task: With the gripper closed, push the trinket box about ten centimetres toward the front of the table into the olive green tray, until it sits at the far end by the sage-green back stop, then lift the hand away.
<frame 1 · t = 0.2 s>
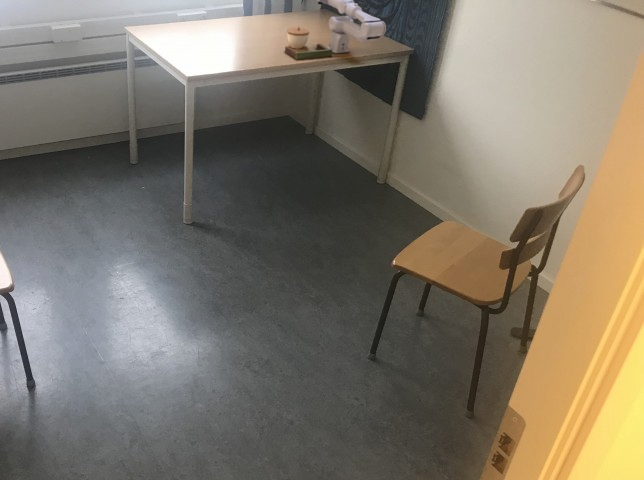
trinket box: (296, 47, 349), on the table
olive green tray: (305, 52, 341), on the table
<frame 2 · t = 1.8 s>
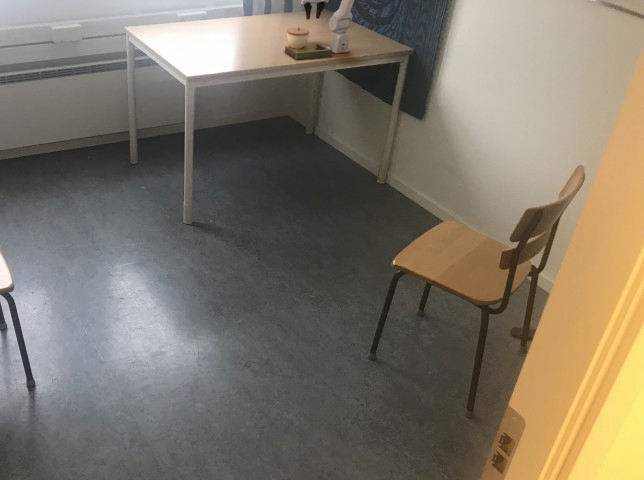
hand: (312, 18, 353), 10 cm above the table, tool pointing down, fingers open, 5 cm apart
nothing on the table moved.
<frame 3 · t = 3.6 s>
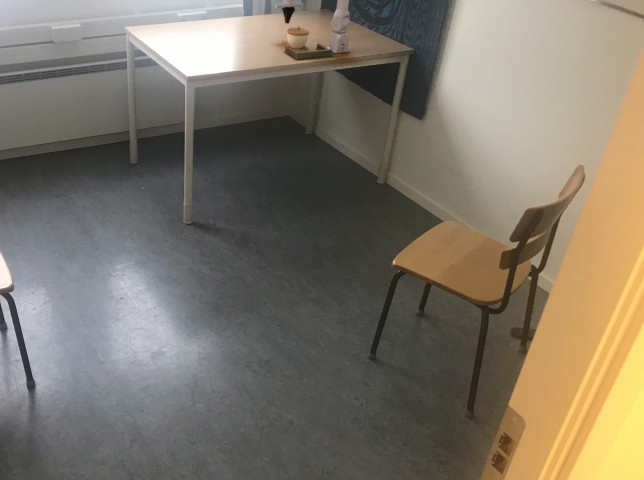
hand: (286, 23, 353), 8 cm above the table, tool pointing down, fingers closed
nothing on the table moved.
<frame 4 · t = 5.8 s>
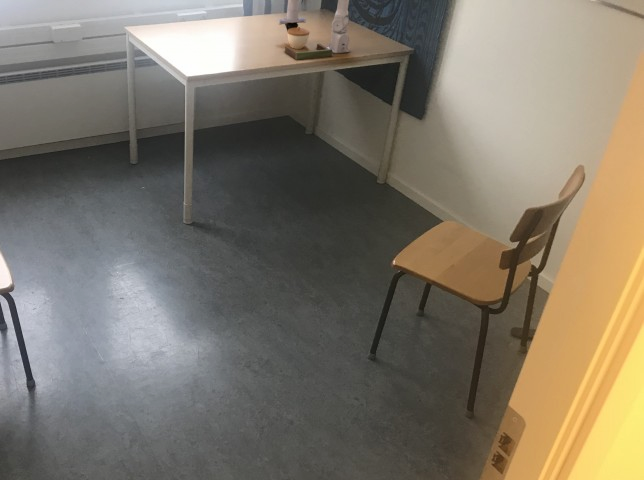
hand: (290, 38, 353), 2 cm above the table, tool pointing down, fingers closed, pressing on trinket box
trinket box: (296, 47, 348), on the table, touching gripper
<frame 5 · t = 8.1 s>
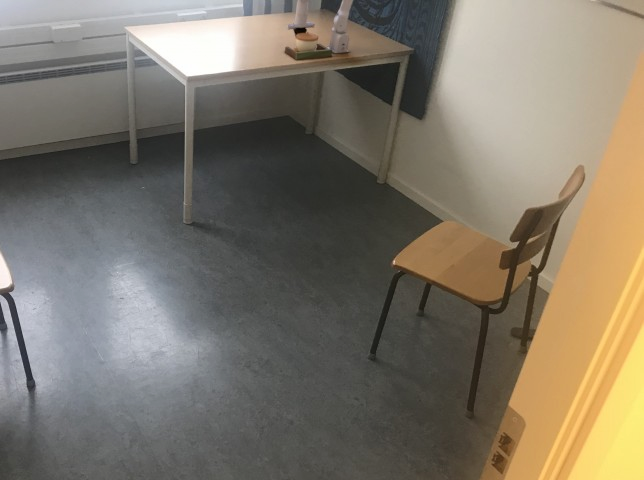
hand: (298, 43, 346), 2 cm above the table, tool pointing down, fingers closed, pressing on trinket box
trinket box: (305, 52, 342), on the table, touching gripper
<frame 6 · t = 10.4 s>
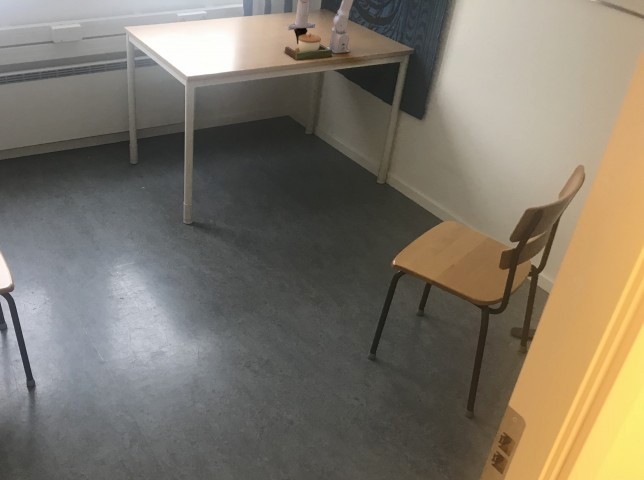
hand: (299, 44, 346), 2 cm above the table, tool pointing down, fingers closed
trinket box: (307, 54, 340), on the table
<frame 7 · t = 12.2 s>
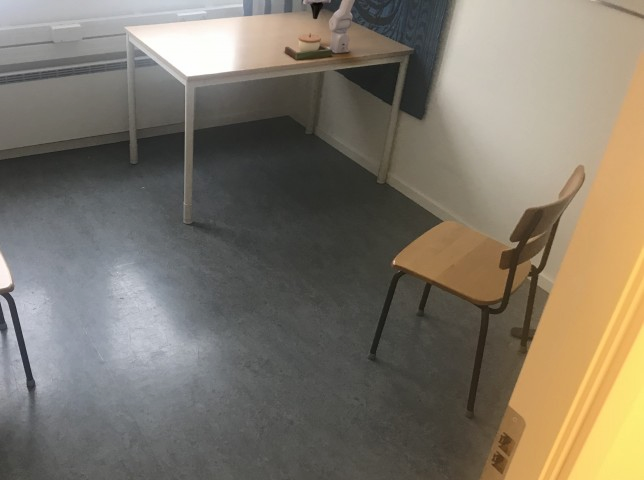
hand: (314, 18, 353), 10 cm above the table, tool pointing down, fingers closed
nothing on the table moved.
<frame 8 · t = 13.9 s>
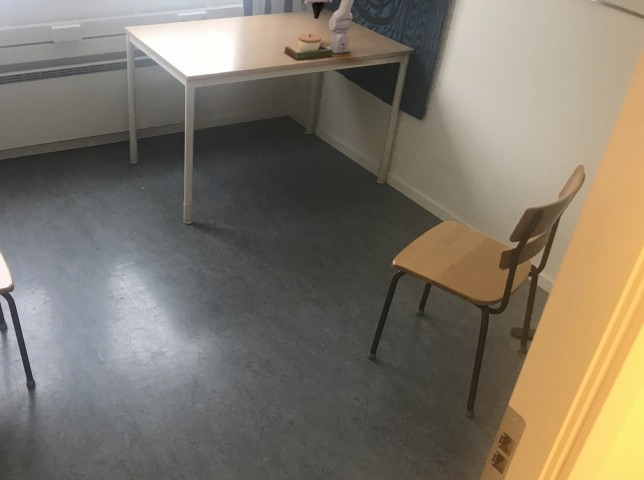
hand: (316, 18, 354), 10 cm above the table, tool pointing down, fingers closed
nothing on the table moved.
at the end: trinket box inside the target area (0.4 cm from its centre), on the table; trinket box tilted 0° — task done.
